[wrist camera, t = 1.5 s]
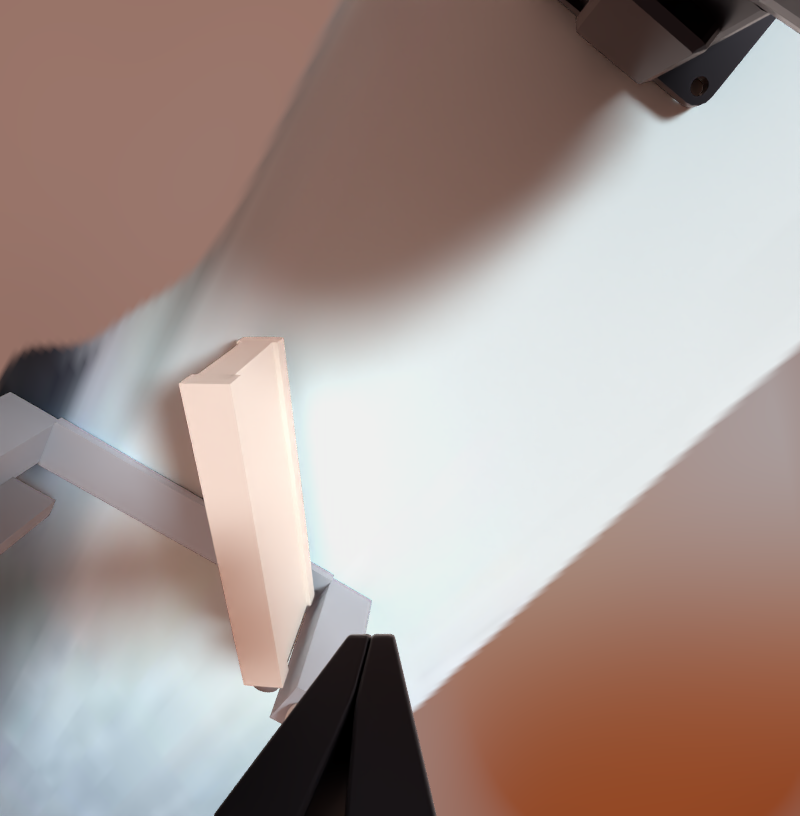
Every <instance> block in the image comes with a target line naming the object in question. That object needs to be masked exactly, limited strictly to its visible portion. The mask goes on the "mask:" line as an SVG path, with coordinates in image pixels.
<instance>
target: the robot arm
mask: <svg viewBox="0 0 800 816" xmlns="http://www.w3.org/2000/svg"><path fill="white" fill-rule="evenodd" d="M558 1H559V2H561V3H562V4H563V5H564V6H565V7H566V8H568V9H569V10H570V11H571V12H572V13H574V14H575V15H576V16H577V18H576V31H577V33H578V34H579V35H580V36H582V37H583V38H584V39H585V40H586V41H587V42H589V43H590V44H591V45H592V46H593V47H595V48H596V49H597V50H598V51H599V52H601V53H602V54H603V55H604V56H605V57H606V58H608V59H609V60H610V61H611V62H612V63H614V64H615V65H616V66H617V67H618V68H620V69H621V70H622V71H623V72H624V73H626V74H627V75H628V76H629V77H630V78H631V79H633V80H634V81H635V82H636V83H638V84H640V83H645V82H649V81H651V80H653V81H654V82H655V83H656V84H657V85H659V86H660V87H661V88H662V89H663V90H664V91H666V92H667V93H668V94H669V95H670V96H671V97H673V98H674V99H675V100H676V101H677V102H679V103H680V104H681V105H683V106H685V107H696V106H699V105H701V104H703V103H706V102H707V101H708V100H709V99H710V98H711V97H712V96H713V95H714V94H715V93H716V91H717V90H718V89H719V88H720V86H721V85H722V84H723V83H724V81H725V80H726V79H727V78H728V77H729V75H730V74H731V73H732V72H733V70H734V69H735V68H736V67H737V65H738V64H739V63H740V62H741V61H742V59H743V58H744V57H745V56H746V54H747V53H748V52H749V51H750V49H751V48H752V47H753V46H754V45H755V43H756V42H757V41H758V40H759V38H760V37H761V36H762V35H763V33H764V32H765V31H766V30H767V28H768V27H769V26H770V25H771V24H772V22H773V21H774V20H775V19H776V18H777V19H779V20H780V21H782V22H783V23H784V24H786V25H787V26H789V27H790V28H792V29H793V30H795V31H796V32H798V33H799V34H800V0H558ZM695 79H698V80H701V82H702V84H703V89H702V91H701V93H700V95H698V96H694V95H692V93H691V91H690V89H691V84H692V82H693V81H694V80H695ZM214 816H436V812H435V808H434V803H433V799H432V795H431V791H430V786H429V782H428V778H427V773H426V769H425V764H424V760H423V756H422V752H421V747H420V743H419V739H418V734H417V730H416V726H415V721H414V717H413V713H412V709H411V704H410V700H409V696H408V691H407V687H406V683H405V678H404V674H403V670H402V665H401V661H400V657H399V653H398V648H397V644H396V640H395V637H394V635H392V634H374V635H373V636H372V637H371V635H369V634H351V635H349V636H348V637H347V638H346V639H345V640H344V642H343V643H342V644H341V646H340V647H339V648H338V650H337V651H336V652H335V654H334V655H333V656H332V658H331V659H330V660H329V662H328V663H327V664H326V666H325V667H324V668H323V670H322V671H321V672H320V674H319V675H318V676H317V678H316V679H315V680H314V682H313V683H312V684H311V686H310V687H309V688H308V690H307V691H306V692H305V694H304V695H303V696H302V698H301V699H300V700H299V702H298V703H297V704H296V706H295V707H294V708H293V710H292V711H291V712H290V714H289V715H288V716H287V718H286V719H285V720H284V722H283V723H282V724H281V726H280V727H279V728H278V730H277V731H276V732H275V734H274V735H273V736H272V738H271V739H270V740H269V742H268V743H267V744H266V746H265V747H264V748H263V750H262V751H261V752H260V754H259V755H258V756H257V758H256V759H255V760H254V762H253V763H252V764H251V766H250V767H249V768H248V770H247V771H246V772H245V774H244V775H243V776H242V778H241V779H240V781H239V782H238V783H237V785H236V786H235V787H234V789H233V790H232V791H231V793H230V794H229V795H228V797H227V798H226V799H225V801H224V802H223V803H222V805H221V806H220V807H219V809H218V810H217V811H216V813H215V814H214Z"/></svg>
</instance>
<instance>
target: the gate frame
mask: <svg viewBox="0 0 800 816" xmlns="http://www.w3.org/2000/svg"><path fill="white" fill-rule="evenodd" d="M38 462H39V464H38V465H40V466H42V467H43V468H45V469H47V470H49V471H50V472H52V473H54V474H56V475H58V476H59V477H61V478H63V479H65V480H67V481H68V482H70V483H72V484H74V485H76V486H77V487H79V488H81V489H83V490H84V491H86V492H88V493H90V494H92V495H93V496H95V497H97V498H99V499H101V500H102V501H104V502H106V503H108V504H109V505H111V506H113V507H115V508H117V509H118V510H120V511H122V512H124V513H126V514H127V515H129V516H131V517H133V518H135V519H136V520H138V521H140V522H142V523H143V524H145V525H147V526H149V527H151V528H152V529H154V530H156V531H158V532H160V533H161V534H163V535H165V536H167V537H168V538H170V539H172V540H174V541H176V542H177V543H179V544H181V545H183V546H185V547H186V548H188V549H190V550H192V551H194V552H195V553H197V554H199V555H201V556H202V557H204V558H206V559H208V560H210V561H211V562H213V563H215V564H217V565H218V563H217V558H216V554H215V549H214V544H213V540H212V535H211V531H210V526H209V521H208V517H207V512H206V508H205V503H204V500H203V499H202V498H200V497H198V496H196V495H195V494H193V493H191V492H189V491H188V490H186V489H184V488H182V487H181V486H179V485H177V484H176V483H174V482H172V481H170V480H169V479H167V478H165V477H163V476H162V475H160V474H158V473H157V472H155V471H153V470H151V469H150V468H148V467H146V466H144V465H143V464H141V463H139V462H138V461H136V460H134V459H132V458H131V457H129V456H127V455H125V454H124V453H122V452H120V451H119V450H117V449H115V448H113V447H112V446H110V445H108V444H106V443H105V442H103V441H101V440H100V439H98V438H96V437H94V436H93V435H91V434H89V433H87V432H86V431H84V430H82V429H81V428H79V427H77V426H75V425H74V424H72V423H70V422H68V421H67V420H65V419H63V418H62V417H61V418H60V419H56V418H55V417H53V416H51V415H50V414H48V413H46V412H44V411H43V410H41V409H39V408H37V407H36V406H34V405H32V404H30V403H29V402H27V401H25V400H24V399H22V398H20V397H18V396H17V395H15V394H13V393H11V392H9V393H7V394H5V395H3V396H1V397H0V555H1V554H2V553H3V552H5V551H6V550H7V549H8V548H10V547H11V546H12V545H13V544H14V543H16V542H17V541H18V540H19V539H21V538H22V537H23V536H24V535H26V534H27V533H28V532H29V531H30V530H32V529H33V528H34V527H35V526H37V525H38V524H39V523H40V522H41V521H43V520H44V519H45V518H46V517H48V516H49V515H50V512H51V510H52V508H53V505H54V503H55V501H56V500H54V499H52V498H50V497H49V496H47V495H45V494H43V493H41V492H39V491H38V490H36V489H34V488H32V487H30V486H29V485H27V484H25V483H23V482H21V481H19V480H18V479H16V477H17V476H19V475H20V474H22V473H23V472H25V471H26V470H28V469H29V468H31V467H32V466H34V465H35V464H37V463H38ZM311 569H312V577H313V585H314V594H315V595H314V598H313V601H312V604H311V606H307V609H306V612H305V613H306V615H305V618H304V621H303V623H302V626H301V629H300V632H299V635H298V638H297V641H296V644H295V646H294V649H293V652H292V655H291V658H290V661H289V664H288V669H289V671H288V674H287V677H286V680H285V683H284V686H283V688H280V689H279V692H278V695H277V698H276V701H275V704H274V707H273V709H272V712H271V715H270V718H272V719H274V720H276V721H277V722H279V723H281V724H282V723H283V722H284V720H285V719H286V718H287V716H288V715H289V714H290V712H291V711H292V710H293V708H294V707H295V706H296V704H297V703H298V702H299V700H300V699H301V698H302V696H303V695H304V694H305V692H306V691H307V690H308V688H309V687H310V686H311V684H312V683H313V682H314V680H315V679H316V678H317V676H318V675H319V674H320V672H321V671H322V670H323V668H324V667H325V666H326V664H327V663H328V662H329V660H330V659H331V658H332V656H333V655H334V654H335V652H336V651H337V650H338V648H339V647H340V646H341V644H342V643H343V642H344V640H345V639H346V638H347V637H348V636H349V635H351V634H365V633H366V628H367V623H368V618H369V613H370V608H371V603H372V600H370V599H368V598H366V597H365V596H363V595H361V594H360V593H358V592H356V591H354V590H353V589H351V588H349V587H347V586H346V585H344V584H342V583H340V582H339V581H337V580H335V579H334V578H333V576H334V575H333V574H331V573H329V572H328V571H326V570H324V569H322V568H321V567H319V566H317V565H316V564H314V563H312V562H311Z"/></svg>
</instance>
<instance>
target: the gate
mask: <svg viewBox="0 0 800 816" xmlns="http://www.w3.org/2000/svg"><path fill="white" fill-rule="evenodd" d="M236 344H237V346H235V347H234V348H233V349H231V350H230V351H229V352H227V353H226V354H224V355H223V356H222V357H220V358H219V359H218V360H216V361H215V362H214V363H212V364H211V365H209V366H208V367H207V368H205V369H204V370H203V371H201V372H200V373H199V374H191V375H190V376H188V377H187V378H185V379H184V380H183V381H181V382H180V383H179V388H180V392H181V397H182V401H183V406H184V411H185V415H186V420H187V425H188V429H189V434H190V438H191V443H192V448H193V452H194V457H195V461H196V466H197V471H198V475H199V480H200V484H201V489H202V494H203V498H204V503H205V508H206V512H207V517H208V521H209V526H210V531H211V535H212V540H213V544H214V549H215V554H216V558H217V563H218V567H219V572H220V577H221V581H222V586H223V591H224V595H225V600H226V604H227V609H228V614H229V618H230V623H231V627H232V632H233V637H234V641H235V646H236V651H237V655H238V660H239V664H240V669H241V674H242V678H243V683H244V685H249V686H254V687H255V688H256V689H258V690H260V691H263V692H274V691H276V690H277V689H278V688H283V686H284V683H285V680H286V677H287V674H288V671H289V669H288V660H289V657H290V654H291V651H292V649H293V646H294V643H295V640H296V637H297V634H298V631H299V629H300V626H301V623H302V620H303V617H304V614H305V612H306V609H307V606H311V604H312V601H313V598H314V595H315V594H314V585H313V577H312V569H311V561H310V552H309V544H308V536H307V527H306V519H305V511H304V503H303V494H302V486H301V478H300V470H299V461H298V453H297V445H296V437H295V428H294V420H293V412H292V404H291V395H290V387H289V379H288V370H287V362H286V354H285V346H284V337H243V338H241V339H240V340H238V341H237V342H236Z"/></svg>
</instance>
